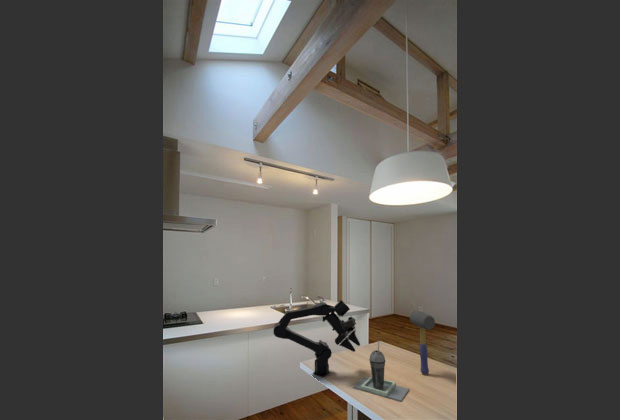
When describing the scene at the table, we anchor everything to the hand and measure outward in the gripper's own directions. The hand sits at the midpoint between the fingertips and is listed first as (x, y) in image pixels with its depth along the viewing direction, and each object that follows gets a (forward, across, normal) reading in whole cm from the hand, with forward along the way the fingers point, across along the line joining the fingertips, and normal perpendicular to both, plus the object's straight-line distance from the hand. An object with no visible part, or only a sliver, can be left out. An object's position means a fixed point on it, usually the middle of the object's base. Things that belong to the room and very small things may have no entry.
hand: (357, 348), depth 143 cm
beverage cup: (+17, -8, +1) cm, 19 cm away
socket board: (+18, -8, +1) cm, 20 cm away
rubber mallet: (+31, +17, -11) cm, 37 cm away
